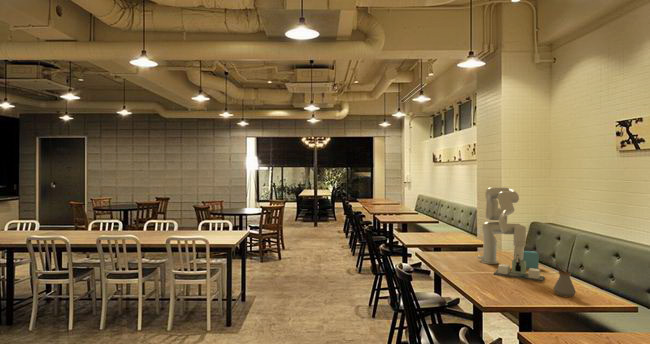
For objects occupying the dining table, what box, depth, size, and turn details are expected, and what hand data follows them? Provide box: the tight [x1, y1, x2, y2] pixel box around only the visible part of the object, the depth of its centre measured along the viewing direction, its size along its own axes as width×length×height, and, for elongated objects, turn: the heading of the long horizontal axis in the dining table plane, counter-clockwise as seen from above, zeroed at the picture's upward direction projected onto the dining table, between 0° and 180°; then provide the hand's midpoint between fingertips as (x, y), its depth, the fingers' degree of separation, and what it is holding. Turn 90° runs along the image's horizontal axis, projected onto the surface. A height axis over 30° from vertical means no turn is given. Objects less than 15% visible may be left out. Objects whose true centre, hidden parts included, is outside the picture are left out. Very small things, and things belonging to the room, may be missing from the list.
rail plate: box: [493, 268, 545, 283], centre depth 293 cm, size 30×10×2 cm, turn 56°
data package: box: [522, 250, 540, 269], centre depth 320 cm, size 12×4×12 cm, turn 83°
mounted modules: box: [497, 263, 541, 279], centre depth 293 cm, size 25×7×5 cm, turn 56°
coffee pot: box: [552, 263, 576, 297], centre depth 257 cm, size 21×12×15 cm, turn 169°
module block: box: [511, 259, 527, 274], centre depth 293 cm, size 8×4×8 cm, turn 56°
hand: (518, 270), depth 294 cm, fingers closed on module block, 4 cm apart
